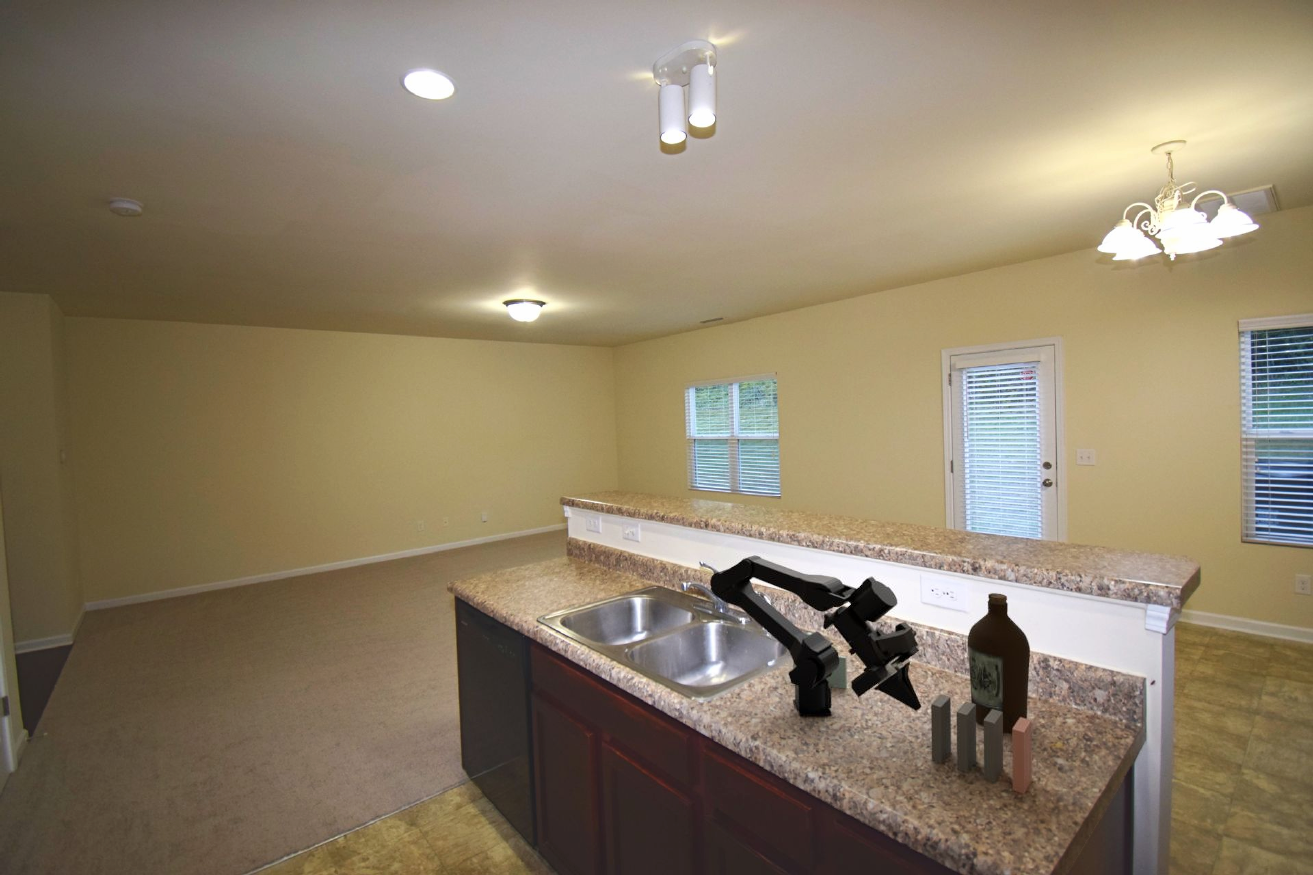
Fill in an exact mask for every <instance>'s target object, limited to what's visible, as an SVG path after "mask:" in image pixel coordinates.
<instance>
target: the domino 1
mask: <svg viewBox="0 0 1313 875" xmlns="http://www.w3.org/2000/svg"><path fill="white" fill-rule="evenodd" d="M951 698H952V697H951V696H949V695H945V694H942V693H941V694H940V695H939V696H938V697H937V698H936V699H935V700H933V702H931V705H930V706H931V707H930V708H931V709H930V710H931V711H930V712H931V713H930V714H931V716H930V717H931V719H930V720H931V722H930V724H931V726H930V727H931V761H933V762H936V763H939V764H940V765H941V764H942V763H943V762H945V760H946V758H947V757H948V756H949V755H950V754H951V752H952V734H951V733H952V728H951V726H952V720H951V719H952V716H951V715H952V714H951V710H952V709H951V705H952V704H951V700H952V699H951Z"/></svg>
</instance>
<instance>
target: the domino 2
mask: <svg viewBox="0 0 1313 875" xmlns="http://www.w3.org/2000/svg"><path fill="white" fill-rule="evenodd" d="M976 762H977V722H976V704H973V703H971V701H970V702H969V701H965V702H964V703H963V704H962V705H961V706H960V707H959V708H958V710H957V711H956V763H957V764H956V770H957V771H960V772H964V773H966V774H968V773H969V771H970V770H971V769H972V767H973V766H974V764H975V763H976Z"/></svg>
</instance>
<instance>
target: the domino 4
mask: <svg viewBox="0 0 1313 875" xmlns="http://www.w3.org/2000/svg"><path fill="white" fill-rule="evenodd" d="M1011 734H1012V738H1011V739H1012V740H1011V741H1012V791H1015V792H1017V793H1020V794H1023V795H1025V794H1026V792H1027V790H1028V788H1029V787H1030V786H1029V785H1030V784H1031V782H1032V779H1033V776H1032V775H1033V774H1032V773H1033V771H1032V770H1033V768H1032V761H1033V760H1032V758H1033V757H1032V750H1033V749H1032V748H1033V747H1032V720H1031V719H1029V718H1027V719H1025V718H1022V717H1020V718H1019V720H1018V721H1017V723H1016V724H1015V726H1014V727H1013V729H1012V733H1011Z"/></svg>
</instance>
